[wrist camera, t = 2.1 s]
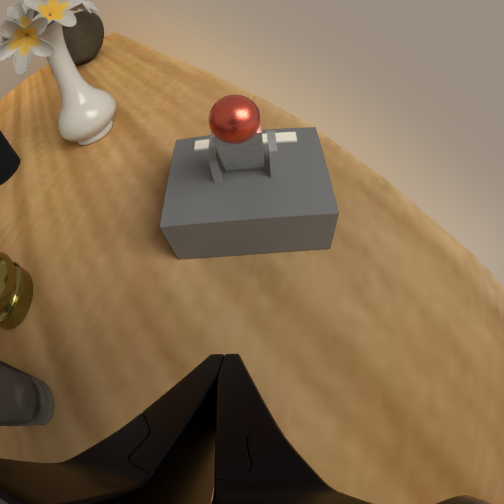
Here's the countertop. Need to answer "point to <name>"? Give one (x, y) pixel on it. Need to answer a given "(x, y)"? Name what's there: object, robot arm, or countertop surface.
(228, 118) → the switch lever
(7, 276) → the salt shaker
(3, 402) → the beverage cup
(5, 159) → the black bottle
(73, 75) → the flower vase
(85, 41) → the dark brown ball
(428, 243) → the countertop surface
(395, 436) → the countertop surface
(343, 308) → the countertop surface
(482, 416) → the countertop surface
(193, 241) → the switch box
